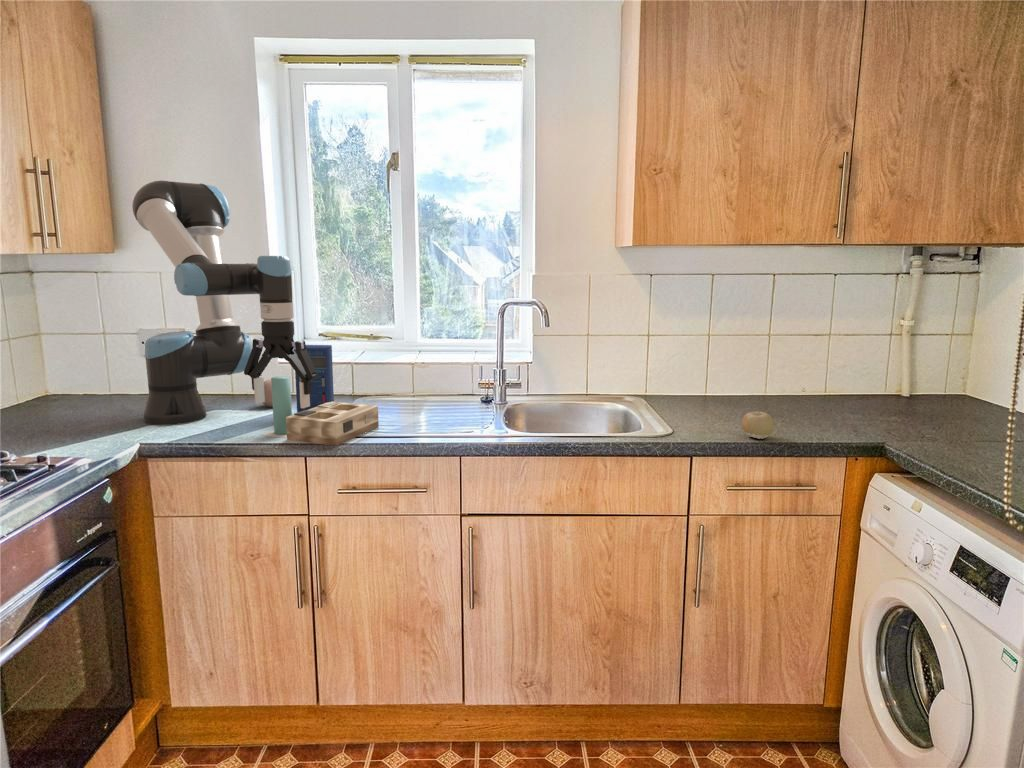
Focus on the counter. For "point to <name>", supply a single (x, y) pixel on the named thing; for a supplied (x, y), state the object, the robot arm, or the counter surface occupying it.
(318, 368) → the electronic device
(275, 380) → the pale green cylinder
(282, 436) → the mat
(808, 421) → the counter surface
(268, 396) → the egg
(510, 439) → the counter surface
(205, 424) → the counter surface
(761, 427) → the fruit
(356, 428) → the socket block
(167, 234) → the robot arm
